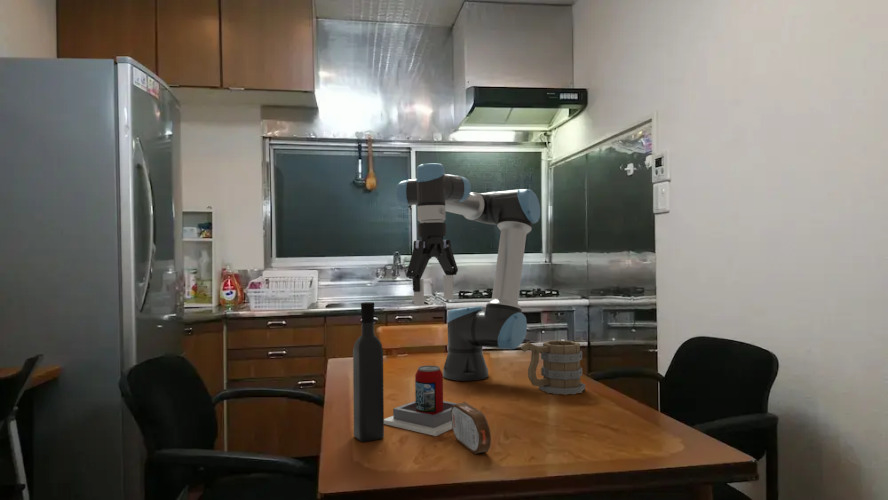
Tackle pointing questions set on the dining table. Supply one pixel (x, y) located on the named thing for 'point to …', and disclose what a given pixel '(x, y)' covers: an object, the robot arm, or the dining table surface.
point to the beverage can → (429, 390)
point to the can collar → (421, 419)
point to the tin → (470, 427)
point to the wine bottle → (368, 380)
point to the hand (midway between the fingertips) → (434, 301)
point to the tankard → (556, 367)
